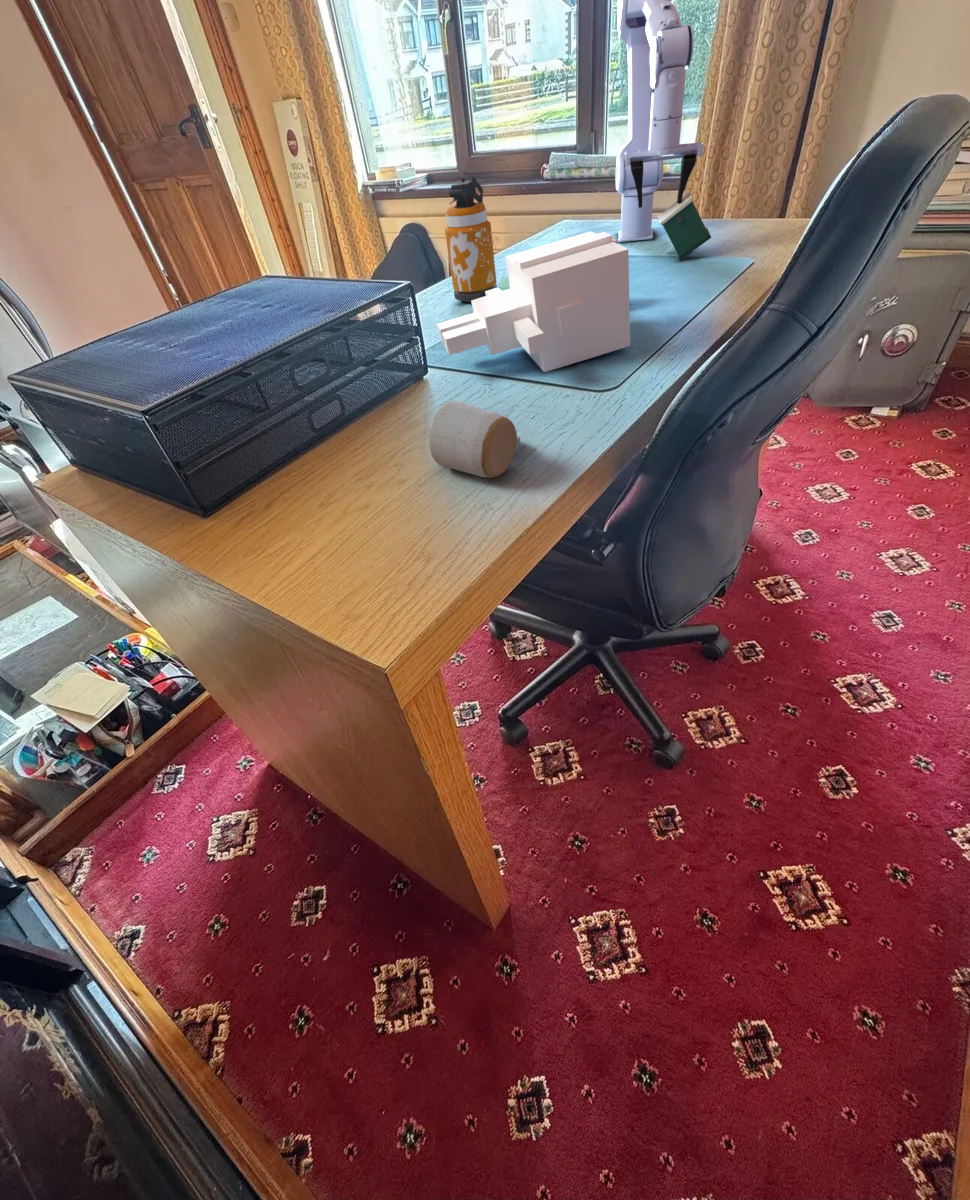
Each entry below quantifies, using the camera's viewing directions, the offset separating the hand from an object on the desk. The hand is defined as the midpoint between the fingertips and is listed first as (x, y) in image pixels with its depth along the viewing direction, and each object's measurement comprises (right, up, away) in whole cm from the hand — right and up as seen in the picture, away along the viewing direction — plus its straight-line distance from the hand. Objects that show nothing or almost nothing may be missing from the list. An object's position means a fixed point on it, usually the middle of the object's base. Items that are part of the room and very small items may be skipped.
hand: (659, 204), depth 115 cm
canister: (-37, -17, +3) cm, 41 cm away
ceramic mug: (-36, -65, -46) cm, 87 cm away
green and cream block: (+3, -5, +4) cm, 7 cm away
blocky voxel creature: (-28, -42, -24) cm, 56 cm away
